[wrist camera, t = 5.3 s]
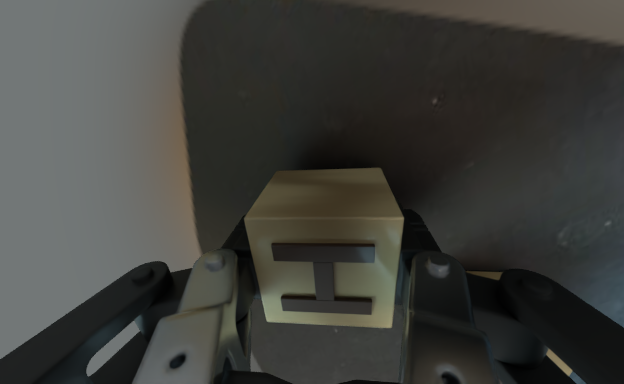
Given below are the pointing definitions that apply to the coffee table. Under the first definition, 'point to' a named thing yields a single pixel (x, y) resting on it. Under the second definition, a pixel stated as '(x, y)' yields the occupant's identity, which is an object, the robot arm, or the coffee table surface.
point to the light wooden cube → (327, 247)
